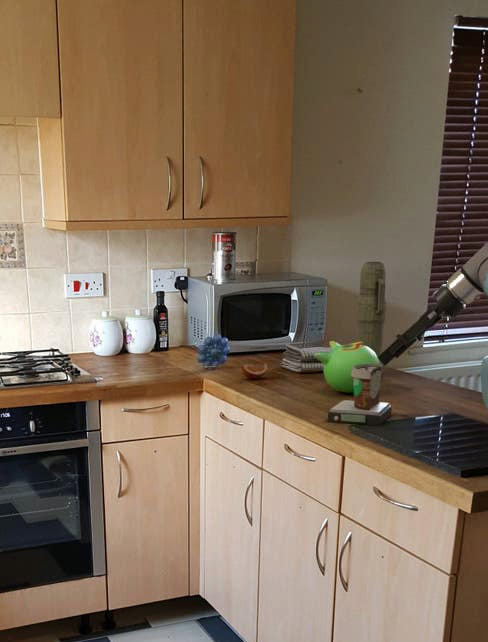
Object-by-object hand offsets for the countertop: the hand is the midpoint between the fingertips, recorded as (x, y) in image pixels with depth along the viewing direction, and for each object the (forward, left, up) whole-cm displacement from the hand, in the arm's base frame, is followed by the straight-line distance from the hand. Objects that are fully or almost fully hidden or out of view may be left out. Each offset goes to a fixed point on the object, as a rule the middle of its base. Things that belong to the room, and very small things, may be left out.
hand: (387, 358), depth 213 cm
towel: (+72, +41, -16) cm, 84 cm away
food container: (0, +6, -13) cm, 14 cm away
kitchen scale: (+1, +6, -16) cm, 17 cm away
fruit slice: (+48, +52, -16) cm, 72 cm away
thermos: (+63, +20, -16) cm, 68 cm away
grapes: (+63, +73, -16) cm, 98 cm away
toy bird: (+35, +18, -16) cm, 42 cm away
